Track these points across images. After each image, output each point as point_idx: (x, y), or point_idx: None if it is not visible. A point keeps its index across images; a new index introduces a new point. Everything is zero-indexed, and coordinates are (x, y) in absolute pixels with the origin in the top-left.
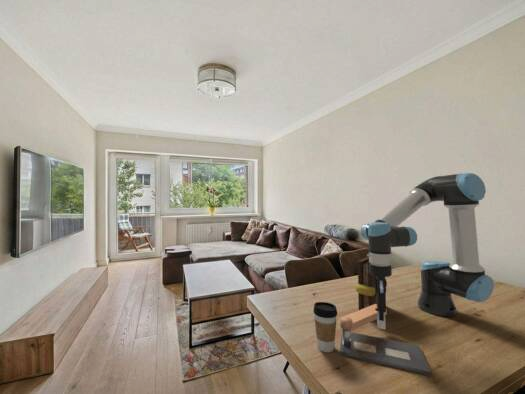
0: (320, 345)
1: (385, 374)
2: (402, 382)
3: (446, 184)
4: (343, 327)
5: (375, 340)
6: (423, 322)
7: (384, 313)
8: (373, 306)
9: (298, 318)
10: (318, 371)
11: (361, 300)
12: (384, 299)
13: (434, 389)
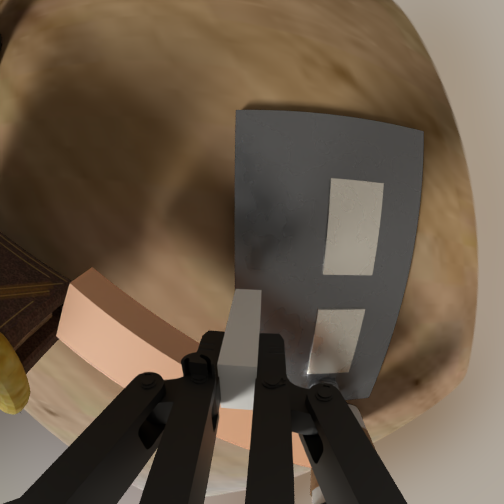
0: None
1: (437, 278)
2: (459, 235)
3: None
4: None
5: (268, 304)
6: (28, 95)
7: (256, 358)
8: (93, 355)
9: None
10: (424, 405)
11: (35, 354)
12: (398, 500)
13: (463, 150)
